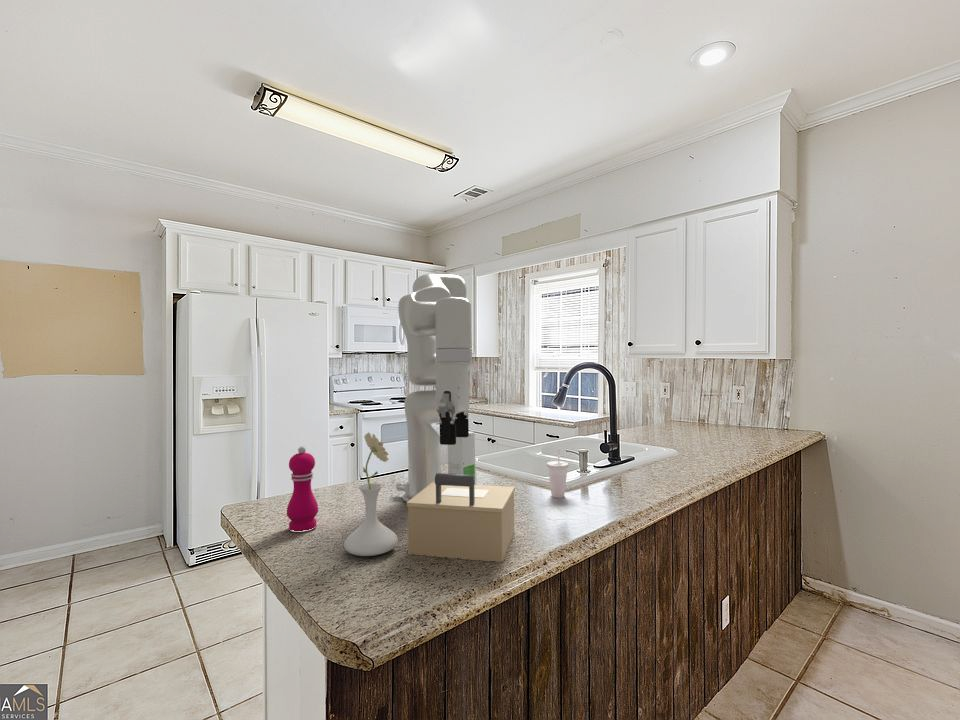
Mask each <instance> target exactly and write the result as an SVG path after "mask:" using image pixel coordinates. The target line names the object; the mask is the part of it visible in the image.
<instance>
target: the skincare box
mask: <svg viewBox="0 0 960 720" xmlns="http://www.w3.org/2000/svg"><path fill="white" fill-rule="evenodd" d="M475 436H476V435H475V431H469V436H468V437H456V444H455V445H447V474H466V475H475V476H476V447H475V446H476V443H475V441H476V437H475Z"/></svg>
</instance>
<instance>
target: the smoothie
mask: <svg viewBox="0 0 960 720" xmlns="http://www.w3.org/2000/svg"><path fill="white" fill-rule="evenodd" d="M560 450H561V449H560V448H559V447H558V448H557V460H553V461H548V462H546V467H547V470H548V477H549V484H550V485H549V486H550V493H551V497H552V498H556V499H561V498H564V497H565V493H566V492H565V491H566V485H567V484H566V483H567V474H568V469H569V463H568V462H566V461H560V459H561V458H560V457H561V455H560V454H561V453H560Z"/></svg>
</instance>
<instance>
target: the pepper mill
mask: <svg viewBox="0 0 960 720" xmlns="http://www.w3.org/2000/svg"><path fill="white" fill-rule="evenodd" d="M297 451H298V452H297V453H296V454H293V455H292V456H291V457H290V459H289V461H288V468H289V470H290V471H291V472H292V473H291V474H290V476H291V478H290V479H291V481H292V482H293V490H292V495H291V497H290V500H289V501H288V503H287V507H286V516H287V518H288V519H289V520H290V521H289V522H288V530H289V529H290V530H294V531H303V530H309V529H312V528H314V527H315V526H316V527H317V519H316V518H315V517H316V516H317V515H318V512H319V504H318V501H317V500H316V498H315V496H314V493H313V489H312V479H313V478H314V472H313V470H314V468H315V466H316V460H315V457H314V456H313V454H311V453H309V452H306V447H305V446H299V448H298V449H297Z"/></svg>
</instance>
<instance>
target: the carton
mask: <svg viewBox="0 0 960 720" xmlns="http://www.w3.org/2000/svg"><path fill="white" fill-rule="evenodd" d="M407 526H408V527H407V537H408V538H407V540H408V541H407V542H408V544H407V545H408V552H407V553H408V555H412V554H414V555H413V556H423V555H425V556H426V557H434V556H436V557H437V558H445V557H447V559H457V558H459V559H460V558H461V559H460V560H468V559H469V560H470V561H479V560H480V561H481V560H482V562H490V561H496V562H495V563H501V562H502V561H504V560H505V557H506V555H507V552H508V550H509V548H510V545H511V543H512V540H513V538H514V536H515V492H514V493H513V495H512V496H511V498H510V500H509V502H508V504H507V505H506V507H505V509H504V511H503V512H502V513H500V512H484V511H469V510H454V509H438V508H423V507H408V506H407ZM508 547H509V548H508ZM505 554H506V555H505ZM459 559H458V560H459ZM502 563H503V562H502Z"/></svg>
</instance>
